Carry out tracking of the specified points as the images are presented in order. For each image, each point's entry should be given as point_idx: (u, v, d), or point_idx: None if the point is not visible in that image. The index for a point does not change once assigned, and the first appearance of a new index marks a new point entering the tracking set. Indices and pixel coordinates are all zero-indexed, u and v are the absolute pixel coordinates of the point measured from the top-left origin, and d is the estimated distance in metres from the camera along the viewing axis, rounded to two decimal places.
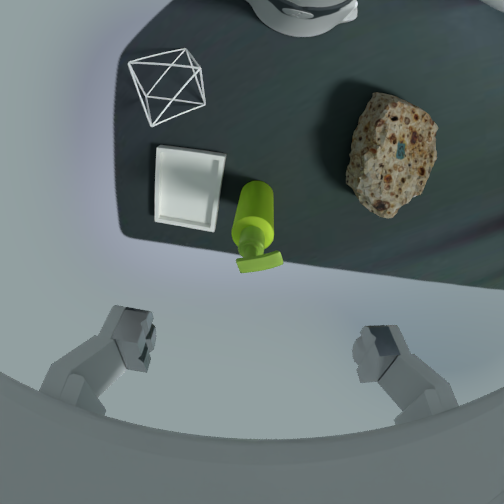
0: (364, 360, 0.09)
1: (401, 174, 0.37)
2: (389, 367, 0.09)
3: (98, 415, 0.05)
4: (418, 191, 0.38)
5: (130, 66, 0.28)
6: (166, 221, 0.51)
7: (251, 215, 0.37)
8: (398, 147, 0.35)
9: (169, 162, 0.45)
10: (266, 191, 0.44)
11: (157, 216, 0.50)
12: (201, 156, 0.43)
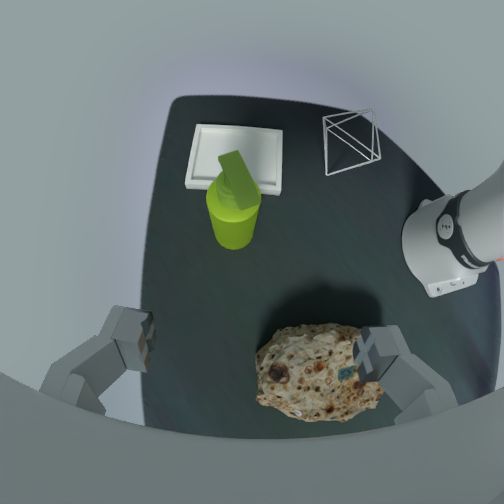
0: (364, 360, 0.09)
1: (323, 384, 0.31)
2: (389, 367, 0.09)
3: (98, 415, 0.05)
4: (308, 414, 0.30)
5: (368, 111, 0.39)
6: (197, 135, 0.43)
7: (260, 193, 0.30)
8: (349, 368, 0.32)
9: (264, 142, 0.45)
10: (252, 233, 0.38)
11: (203, 126, 0.43)
12: (278, 168, 0.42)
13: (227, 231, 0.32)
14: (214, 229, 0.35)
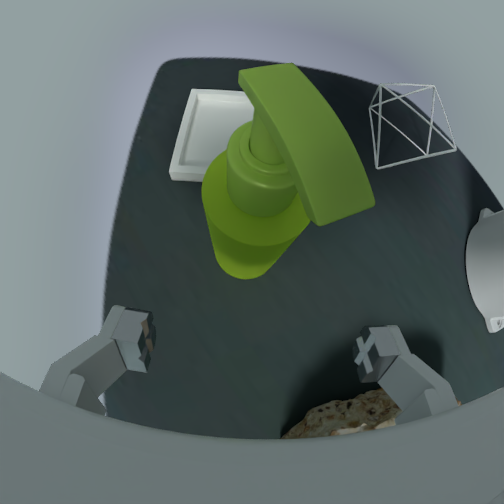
0: (364, 360, 0.09)
1: None
2: (389, 367, 0.09)
3: (98, 415, 0.05)
4: None
5: (428, 87, 0.24)
6: (191, 102, 0.27)
7: None
8: None
9: None
10: None
11: (200, 92, 0.28)
12: None
13: (241, 259, 0.16)
14: (215, 250, 0.20)
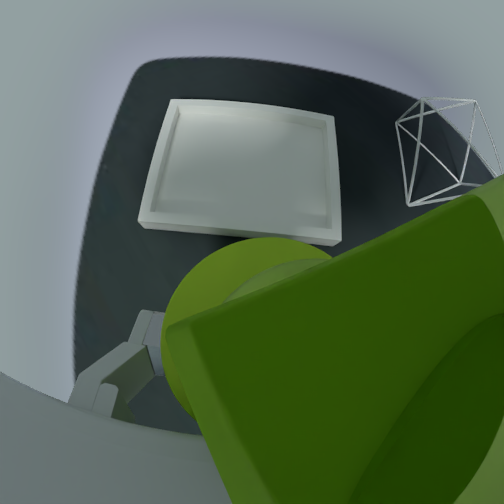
0: None
1: None
2: None
3: (98, 415, 0.05)
4: None
5: (468, 102, 0.18)
6: (169, 118, 0.21)
7: None
8: None
9: (300, 135, 0.23)
10: None
11: (182, 103, 0.21)
12: (333, 191, 0.20)
13: None
14: None
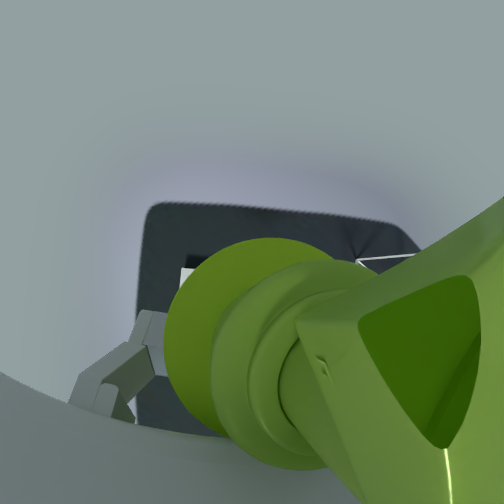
0: None
1: None
2: None
3: (98, 415, 0.05)
4: None
5: None
6: None
7: None
8: None
9: None
10: None
11: (190, 273, 0.33)
12: None
13: None
14: None
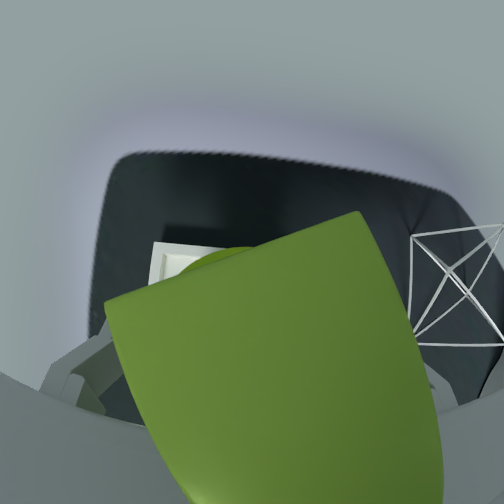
0: None
1: None
2: None
3: (98, 415, 0.05)
4: None
5: (497, 225, 0.17)
6: (155, 274, 0.20)
7: None
8: None
9: None
10: None
11: (168, 250, 0.20)
12: None
13: None
14: None
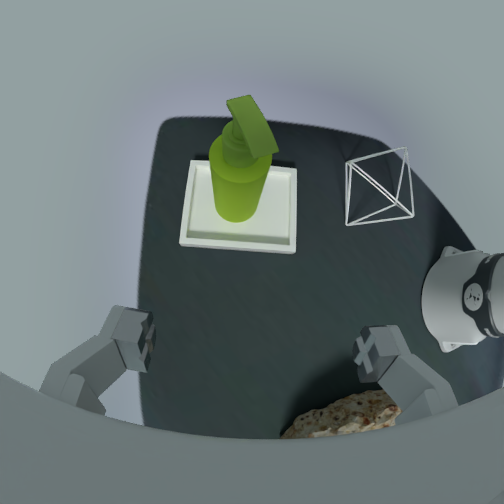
0: (364, 360, 0.09)
1: None
2: (389, 367, 0.09)
3: (98, 415, 0.05)
4: None
5: None
6: (191, 175, 0.36)
7: None
8: None
9: (274, 183, 0.38)
10: (258, 202, 0.33)
11: (198, 164, 0.36)
12: (291, 222, 0.36)
13: (231, 196, 0.27)
14: (215, 197, 0.31)
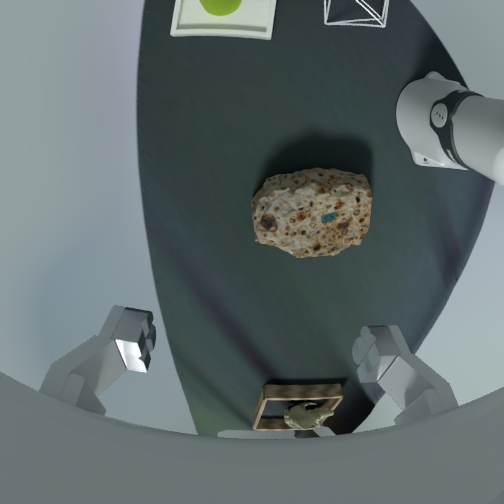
0: (364, 360, 0.09)
1: (308, 228, 0.42)
2: (389, 367, 0.09)
3: (98, 415, 0.05)
4: (298, 253, 0.43)
5: None
6: None
7: None
8: (331, 213, 0.41)
9: None
10: (237, 0, 0.25)
11: None
12: (269, 15, 0.28)
13: None
14: None
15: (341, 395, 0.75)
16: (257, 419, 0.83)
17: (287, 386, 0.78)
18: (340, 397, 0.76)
